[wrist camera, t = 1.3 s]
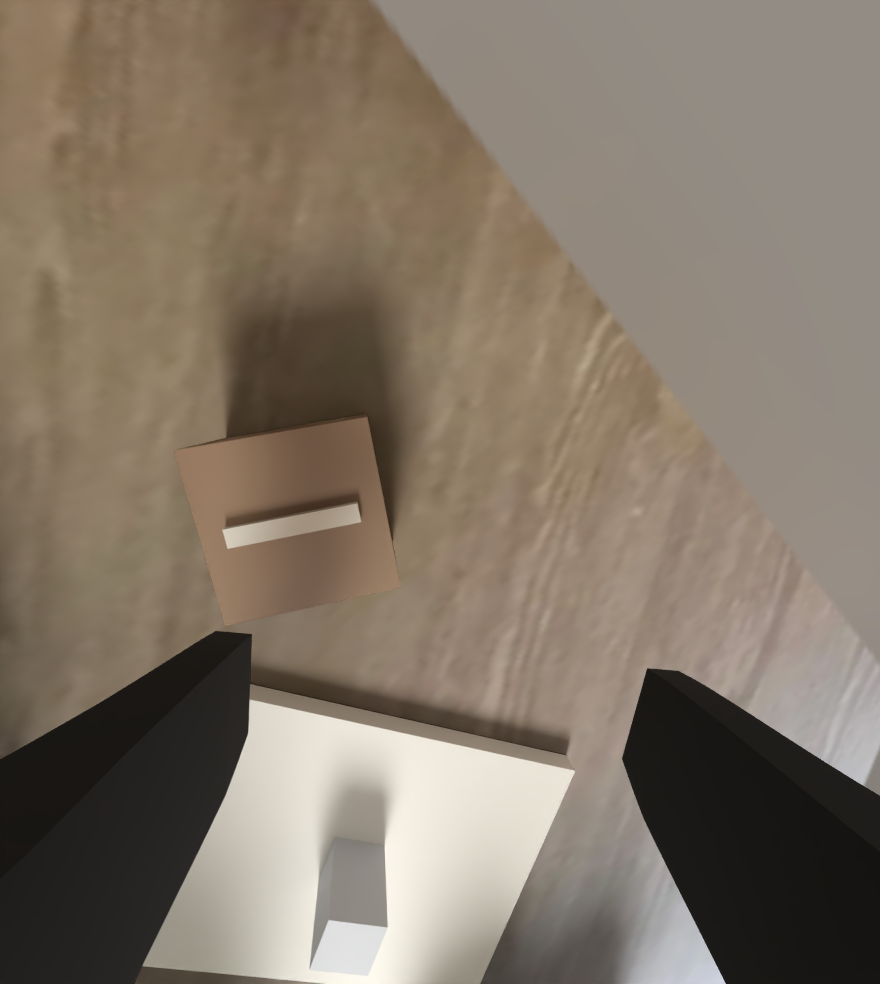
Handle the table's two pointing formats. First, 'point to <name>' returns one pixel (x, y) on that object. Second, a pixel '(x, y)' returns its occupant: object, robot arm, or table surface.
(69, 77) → the table surface
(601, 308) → the table surface
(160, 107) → the table surface
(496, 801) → the board
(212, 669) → the robot arm
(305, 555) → the walnut knob
